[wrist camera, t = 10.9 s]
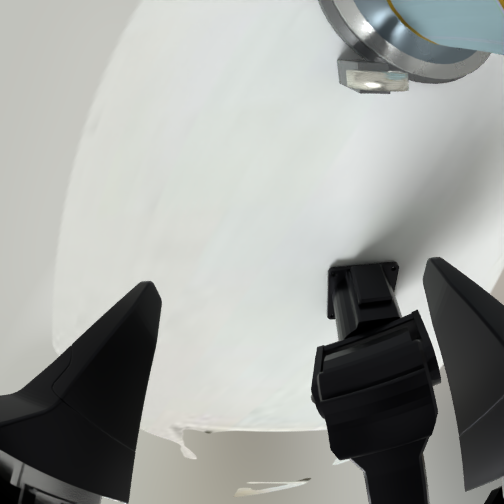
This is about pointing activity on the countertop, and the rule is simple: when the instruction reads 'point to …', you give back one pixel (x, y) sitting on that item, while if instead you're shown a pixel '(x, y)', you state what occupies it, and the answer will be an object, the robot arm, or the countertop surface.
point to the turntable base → (369, 64)
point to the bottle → (455, 22)
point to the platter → (404, 42)
